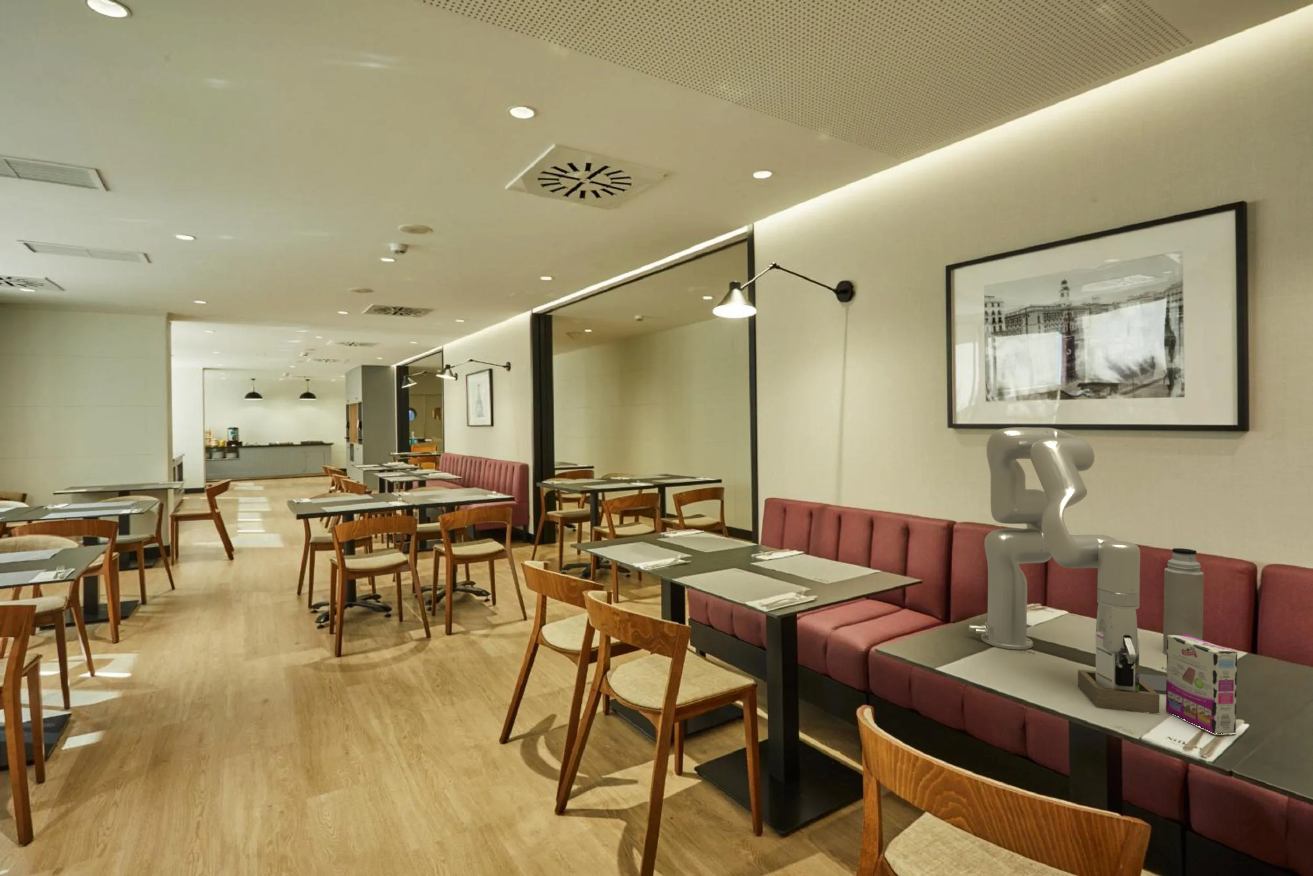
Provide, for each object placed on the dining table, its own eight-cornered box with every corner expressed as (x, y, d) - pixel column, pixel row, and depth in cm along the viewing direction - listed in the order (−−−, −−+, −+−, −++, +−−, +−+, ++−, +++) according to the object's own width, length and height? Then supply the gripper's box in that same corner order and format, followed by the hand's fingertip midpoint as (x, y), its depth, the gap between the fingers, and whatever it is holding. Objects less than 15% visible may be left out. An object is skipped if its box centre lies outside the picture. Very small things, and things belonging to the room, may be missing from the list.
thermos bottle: (1157, 648, 175) (1159, 545, 175) (1193, 652, 172) (1195, 547, 172) (1170, 658, 167) (1172, 550, 167) (1208, 662, 165) (1210, 553, 164)
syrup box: (1113, 705, 139) (1114, 638, 139) (1094, 694, 145) (1095, 630, 145) (1139, 705, 139) (1140, 638, 139) (1119, 694, 145) (1120, 630, 145)
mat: (1143, 692, 146) (1143, 688, 146) (1124, 675, 156) (1124, 672, 156) (1195, 697, 144) (1195, 693, 143) (1173, 680, 153) (1173, 677, 153)
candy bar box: (1238, 735, 126) (1239, 651, 125) (1214, 736, 125) (1215, 652, 125) (1186, 710, 137) (1187, 633, 137) (1164, 711, 136) (1165, 634, 136)
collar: (1096, 707, 138) (1096, 688, 138) (1077, 686, 149) (1078, 669, 149) (1159, 714, 135) (1159, 695, 135) (1135, 692, 146) (1135, 675, 146)
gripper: (1084, 587, 151) (1083, 663, 151) (1114, 607, 134) (1113, 692, 135) (1121, 589, 149) (1120, 666, 149) (1156, 610, 132) (1155, 696, 133)
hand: (1116, 678), depth 142 cm, fingers open, 6 cm apart
